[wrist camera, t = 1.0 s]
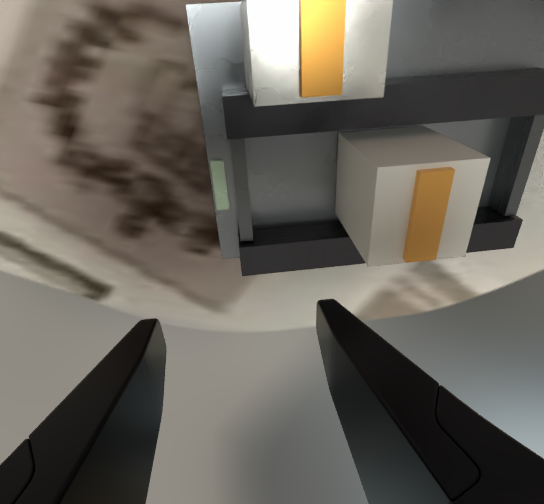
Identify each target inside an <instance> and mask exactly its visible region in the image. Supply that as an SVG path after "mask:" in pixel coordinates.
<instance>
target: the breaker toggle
mask: <svg viewBox="0 0 544 504" xmlns="http://www.w3.org/2000/svg"><path fill="white" fill-rule="evenodd" d="M490 159H491V158H490V157H488V156H486V155H484V154H482V153H480V152H478V151H476V150H473V149H471V148H469V147H467V146H465V145H463V144H461V143H459V142H457V141H454V140H452V139H450V138H448V137H446V136H444V135H442V134H440V133H438V132H436V131H433V130H431V129H429V128H427V127H425V126H417V127H404V128H392V129H379V130H367V131H354V132H341V133H339V135H338V158H337V182H336V206H335V214H336V215H337V217H338V218H339V220H340V222H341V223H342V225H343V227H344V228H345V230H346V232H347V233H348V235H349V237H350V238H351V240H352V241H353V243H354V245H355V246H356V248H357V250H358V251H359V253H360V255H361V256H362V258H363V260H364V261H365V263H366V264H367V266H377V265H387V264H396V263H408V262H417V261H427V260H436V259H444V258H453V257H463V256H465V255H466V251H467V247H468V243H469V239H470V236H471V232H472V228H473V224H474V220H475V216H476V213H477V209H478V205H479V201H480V197H481V193H482V189H483V186H484V182H485V178H486V174H487V170H488V166H489V163H490Z"/></svg>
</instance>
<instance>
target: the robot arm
mask: <svg viewBox="0 0 544 504" xmlns="http://www.w3.org/2000/svg"><path fill="white" fill-rule="evenodd" d="M316 328H317V335H318V340H319V345H320V349H321V354H322V358H323V363H324V367H325V372H326V377H327V381H328V385H329V390H330V393H331V396H332V399H333V402H334V405H335V408H336V411H337V414H338V416H339V419H340V422H341V425H342V428H343V431H344V434H345V437H346V439H347V442H348V445H349V448H350V451H351V454H352V457H353V459H354V463H355V465H356V468H357V471H358V474H359V477H360V480H361V483H362V485H363V488H364V491H365V494H366V497H367V500H368V503H369V504H544V459H543V458H541V457H540V456H539V455H537V454H536V453H534V452H533V451H531V450H530V449H528V448H527V447H525V446H524V445H522V444H521V443H519V442H518V441H516V440H515V439H514V438H512V437H510V436H509V435H507V434H506V433H505V432H503V431H502V430H500V429H499V428H498V427H496V426H494V425H493V424H492V423H490V422H489V421H488V420H486V419H484V418H483V417H482V416H481V415H479V414H478V413H477V412H475V411H474V410H473V409H471V408H470V407H469V406H467V405H466V404H465V403H463V402H462V401H461V400H459V399H458V398H457V397H456V396H454V395H453V394H452V393H451V392H449V391H448V390H447V389H446V388H444V387H443V386H441V385H440V386H439V383H438V382H437V381H435V380H434V379H433V378H432V377H430V376H429V375H428V374H427V373H425V372H424V371H423V370H422V369H421V368H419V367H418V366H417V365H415V364H414V363H413V362H412V361H411V360H409V359H408V358H407V357H405V356H404V355H403V354H402V353H401V352H399V351H398V350H397V349H395V348H394V347H393V346H392V345H390V344H389V343H388V342H387V341H386V340H384V339H383V338H382V337H380V336H379V335H378V334H377V333H376V332H374V331H373V330H372V329H371V328H369V327H368V326H367V325H366V324H364V323H363V322H362V321H361V320H359V319H358V318H357V317H356V316H354V315H353V314H352V313H351V312H349V311H348V310H347V309H346V308H344V307H343V306H342V305H341V304H340V303H338V302H337V301H336V300H334V299H326V300H319V301H318V302H317V314H316ZM165 364H166V343H165V339H164V336H163V332H162V328H161V325H160V322H159V320H158V319H156V318H154V319H145V320H141V321H139V322H138V323H137V324H136V325H135V326H134V327H133V328H132V329H131V330H130V331H129V332H128V333H127V334H126V335H125V337H124V338H123V339H122V340H121V341H120V342H119V343H118V344H117V345H116V346H115V347H114V348H113V349H112V350H111V351H110V352H109V353H108V354H107V355H106V356H105V357H104V358H103V359H102V361H100V362H99V363H98V365H97V366H96V367H95V368H94V369H93V370H92V371H91V372H90V373H89V374H88V375H87V376H86V377H85V378H84V379H83V380H82V381H81V382H80V383H79V384H78V385H77V386H76V387H75V388H74V389H73V390H72V392H71V393H70V394H69V395H68V396H67V397H66V398H65V399H64V400H63V401H62V402H61V403H60V404H59V405H58V406H57V407H56V408H55V409H54V410H53V411H52V412H51V413H50V414H49V415H48V416H47V417H46V419H45V420H44V421H43V422H42V423H41V424H40V425H39V426H38V427H37V428H36V429H35V430H34V431H33V432H32V433H31V434H30V435H29V439H25V440H24V441H23V442H22V443H21V444H20V445H19V446H18V447H17V448H16V449H15V451H14V452H13V453H12V454H11V455H10V456H9V457H8V458H7V459H6V460H5V461H4V462H3V463H2V464H1V465H0V504H145V503H146V498H147V492H148V487H149V482H150V476H151V471H152V465H153V460H154V455H155V450H156V443H157V438H158V433H159V428H160V422H161V416H162V407H163V396H164V379H165Z"/></svg>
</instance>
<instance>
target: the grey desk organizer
mask: <svg viewBox="0 0 544 504" xmlns="http://www.w3.org/2000/svg"><path fill="white" fill-rule="evenodd" d="M186 10H187V17H188V24H189V31H190V38H191V45H192V52H193V59H194V66H195V73H196V80H197V87H198V94H199V101H200V108H201V115H202V122H203V129H204V136H205V143H206V150H207V157H208V164H209V171H210V178H211V185H212V192H213V199H214V206H215V213H216V220H217V227H218V234H219V241H220V248H221V255H222V259H225V258H235V257H240V260H241V269H242V276H248V275H257V274H267V273H276V272H286V271H296V270H305V269H315V268H324V267H334V266H343V265H353V264H363V263H365V261H364V260H363V258H362V256H361V255H360V253H359V251H358V250H357V248H356V246H355V245H354V243H353V241H352V240H351V238H350V237H349V235H348V233H347V232H346V230H345V228H344V227H343V225H342V223H341V222H340V220H339V218H338V217H337V215H336V214H335V206H336V182H337V158H338V135H339V133H341V132H354V131H367V130H379V129H392V128H404V127H417V126H425V127H427V128H429V129H431V130H433V131H436V132H438V133H440V134H442V135H444V136H446V137H448V138H450V139H452V140H454V141H457V142H459V143H461V144H463V145H465V146H467V147H469V148H471V149H473V150H476V151H478V152H480V153H482V154H484V155H486V156H488V157H490V158H491V159H490V163H489V166H488V170H487V174H486V178H485V182H484V186H483V189H482V193H481V197H480V201H479V205H478V209H477V213H476V216H475V220H474V224H473V228H472V232H471V236H470V239H469V243H468V247H467V251H466V253H468V252H477V251H487V250H497V249H506V248H513V247H514V244H515V241H516V238H517V235H518V232H519V229H520V226H521V224H522V221H523V220H522V219H521V218H519V217H517V216H516V213H517V210H518V207H519V204H520V201H521V197H522V194H523V191H524V188H525V185H526V182H527V179H528V176H529V173H530V170H531V166H532V163H533V160H534V157H535V154H536V151H537V148H538V145H539V142H540V138H541V135H542V132H543V129H544V0H242V2H227V3H208V4H189V5H186Z"/></svg>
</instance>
